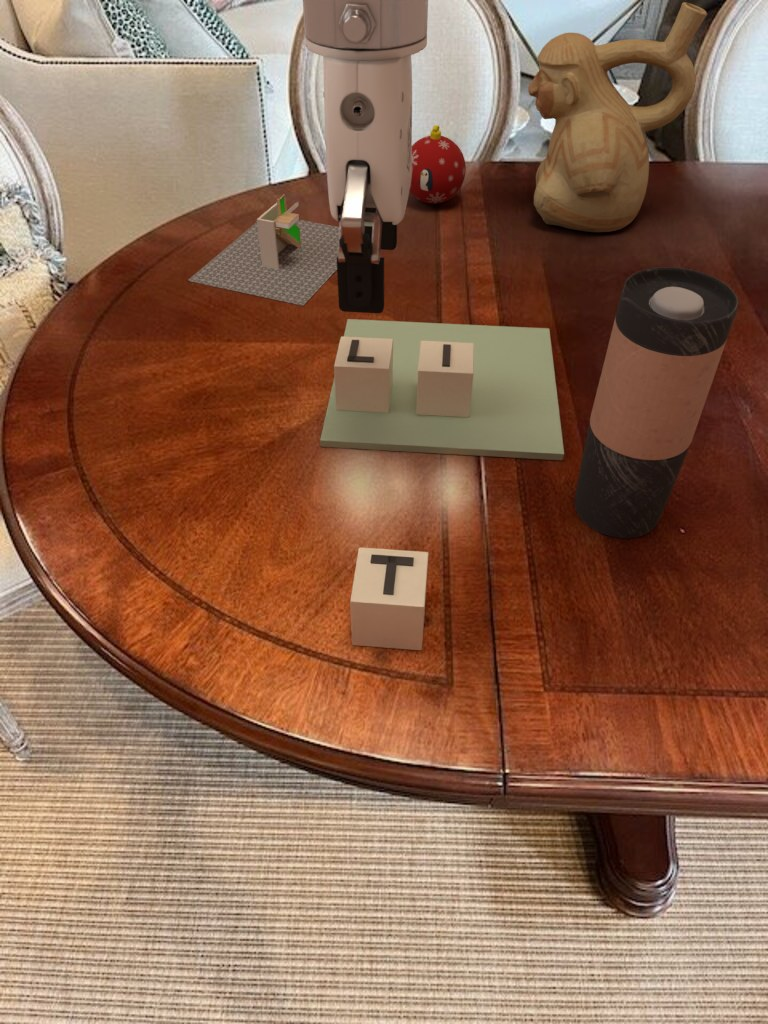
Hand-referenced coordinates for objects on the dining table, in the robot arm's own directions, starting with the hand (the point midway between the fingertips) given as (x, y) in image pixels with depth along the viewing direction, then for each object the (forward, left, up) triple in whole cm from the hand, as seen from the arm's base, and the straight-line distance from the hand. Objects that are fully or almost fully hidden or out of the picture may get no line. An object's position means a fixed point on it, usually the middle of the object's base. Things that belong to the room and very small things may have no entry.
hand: (369, 277), depth 59 cm
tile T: (-3, +19, -17) cm, 26 cm away
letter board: (-6, -10, -17) cm, 21 cm away
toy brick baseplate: (+15, -36, -17) cm, 43 cm away
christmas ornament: (-3, -54, -17) cm, 57 cm away
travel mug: (-21, +6, -17) cm, 28 cm away
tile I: (-6, -7, -16) cm, 19 cm away
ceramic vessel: (-24, -51, -17) cm, 59 cm away
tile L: (+1, -7, -16) cm, 18 cm away
